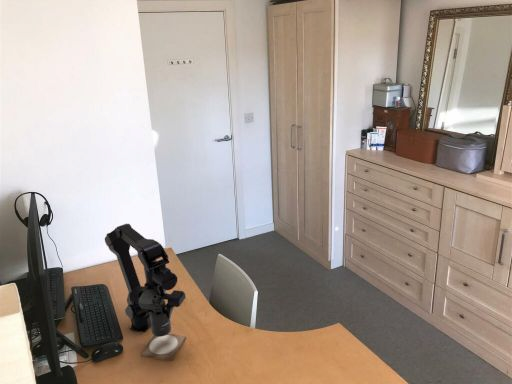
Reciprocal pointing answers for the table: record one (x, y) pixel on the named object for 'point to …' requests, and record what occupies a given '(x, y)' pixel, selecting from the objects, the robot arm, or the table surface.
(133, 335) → the table surface
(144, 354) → the walnut board
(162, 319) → the supplement bottle
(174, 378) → the table surface
